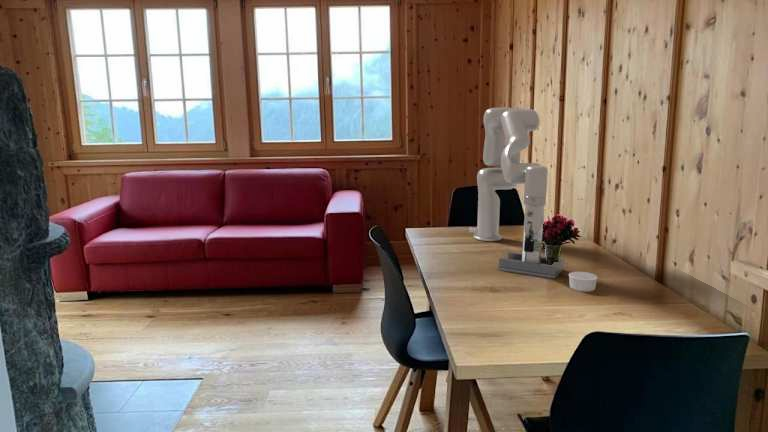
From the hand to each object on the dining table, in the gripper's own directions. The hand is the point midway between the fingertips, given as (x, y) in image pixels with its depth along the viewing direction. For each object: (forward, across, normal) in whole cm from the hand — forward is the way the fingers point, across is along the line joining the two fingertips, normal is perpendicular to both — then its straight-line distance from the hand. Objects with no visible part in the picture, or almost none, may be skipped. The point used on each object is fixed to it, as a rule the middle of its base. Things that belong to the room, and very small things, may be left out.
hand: (531, 248), depth 196 cm
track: (+8, 0, 0) cm, 8 cm away
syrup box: (+6, 0, 0) cm, 6 cm away
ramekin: (+8, -12, -20) cm, 25 cm away
